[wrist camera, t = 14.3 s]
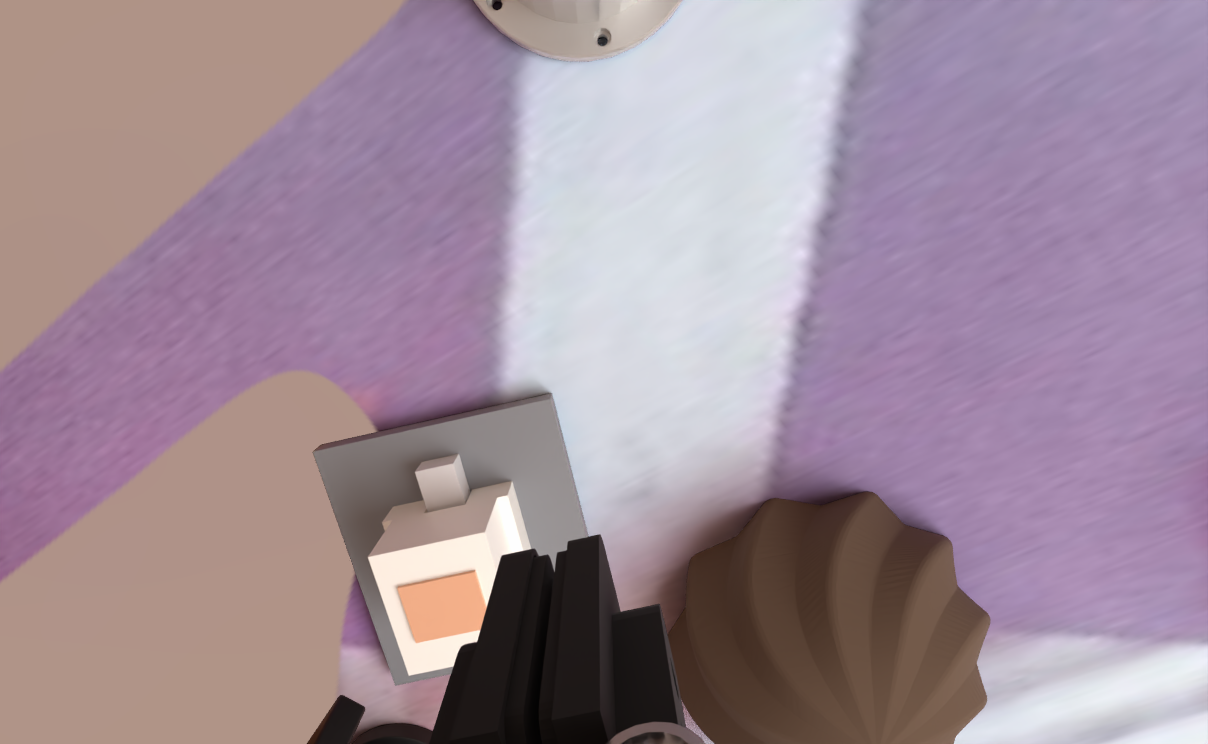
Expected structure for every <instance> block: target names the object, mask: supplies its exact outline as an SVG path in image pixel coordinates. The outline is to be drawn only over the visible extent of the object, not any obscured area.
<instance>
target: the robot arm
mask: <svg viewBox="0 0 1208 744" xmlns="http://www.w3.org/2000/svg"><path fill="white" fill-rule="evenodd" d="M496 1H500V2H501V3H502V7H501V9H500V10H494V9H493V4H494V2H496ZM682 1H683V0H474V2H475V3H476V5H477V6H478V8H479V9H480V11H481V12H482V14H483V15H484V16H485V17H486V18H487V19H488V20H489V21H490V22H491V23H492V24H493V25H494V26H495V27H496V28H497V29H498V30H499V31H500V32H501V33H503V34H504V35H505V36H507V37H508V38H510V39H511V40H512V41H514V42H515V43H517V44H518V45H519V46H521V47H523V48H526V49H528V50H530V51H532V52H535V53H537V54H539V55H541V56H545V57H549V58H554V59H558V60H562V61H587V62H589V61H594V60H599V59H604V58H610V57H613V56H615V55H618V54H620V53H623V52H625V51H628V50H630V49H632V48H634V47H636V46H637V45H639V44H640V43H642V42H643V41H645V40H646V39H648V38H649V37H651V36H652V35H654V34H655V33H656V32H657V31H658V30H659V29H660V28H661V27H662V26H663V25H664V24H665V23H666V22H667V21H668V20H669V19H670V18H671V17H672V15H673V14H674V12H675V11H676V9H677V8H678V6H679V5H680V4H681V2H682ZM600 37H605V38H606V39H607V41H608V42H607V44H606V45H605V46H600V45H599V44H598V42H597V40H598V39H599V38H600ZM429 744H705V743H704V741H703V740H702V738H700V737H699V736H698V735H696V734H695V733H694V732H692V731H691V730H690V729H688V728H686V725H685V719H684V713H683V707H682V702H681V696H680V691H679V686H678V681H677V676H676V671H675V666H674V662H673V657H672V653H671V648H670V644H669V639H668V635H667V631H666V627H665V622H664V618H663V614H662V610H661V607H660V604H656V605H652V606H647V607H642V608H637V609H632V610H628V611H623V612H621V611H620V607H619V603H618V599H617V595H616V591H615V587H614V583H613V579H612V575H611V571H610V567H609V563H608V559H607V555H606V551H605V547H604V544H603V540H602V537H601V535H600V534H599V535H595V536H590V537H585V538H581V539H576V540H571V541H568V543H567V550H566V551H561V552H557V555H556V564H555V572H554V568H553V565H552V561H551V559H550V556H549V555H548V554H547V555H542V556H539V555H538V553H537V551H536V549H535V548H534V549H529V550H524V551H519V552H515V553H510V554H505V555H502V556H501V558H500V562H499V565H498V569H497V572H496V576H495V580H494V583H493V587H492V590H491V594H490V598H489V601H488V605H487V608H486V612H485V615H484V619H483V623H482V626H481V630H480V633H479V637H478V640H477V642H473V643H468V644H464V645H463V646H461V647H460V649H459V651H458V654H457V657H456V660H455V663H454V666H453V669H452V673H451V676H450V679H449V682H448V685H447V688H446V692H445V695H444V698H443V701H442V704H441V707H440V711H439V714H438V717H437V720H436V723H435V726H434V729H433V733H432V736H431V739H430V742H429Z"/></svg>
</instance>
